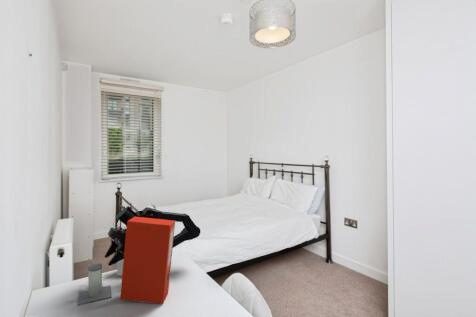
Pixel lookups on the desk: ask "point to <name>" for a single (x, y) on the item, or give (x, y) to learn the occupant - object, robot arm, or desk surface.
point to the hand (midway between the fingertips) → (106, 261)
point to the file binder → (147, 260)
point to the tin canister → (95, 280)
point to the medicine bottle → (120, 267)
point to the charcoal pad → (86, 299)
